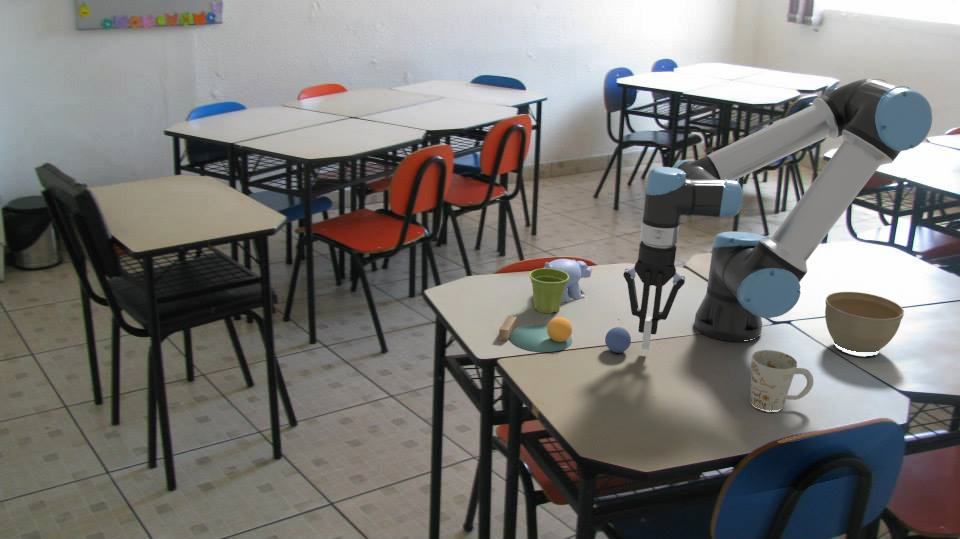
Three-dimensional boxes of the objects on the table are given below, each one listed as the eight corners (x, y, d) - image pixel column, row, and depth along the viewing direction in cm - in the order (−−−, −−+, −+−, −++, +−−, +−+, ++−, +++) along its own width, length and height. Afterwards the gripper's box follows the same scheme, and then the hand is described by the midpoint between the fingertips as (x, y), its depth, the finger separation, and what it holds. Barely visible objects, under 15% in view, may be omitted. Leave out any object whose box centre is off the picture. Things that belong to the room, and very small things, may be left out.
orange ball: (554, 309, 202) (546, 330, 204) (550, 319, 197) (541, 340, 199) (577, 319, 201) (568, 340, 203) (573, 329, 196) (564, 350, 198)
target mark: (576, 330, 207) (576, 329, 207) (565, 356, 194) (566, 355, 194) (516, 321, 210) (516, 320, 210) (502, 346, 197) (502, 345, 197)
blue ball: (608, 320, 198) (603, 341, 200) (607, 333, 193) (602, 354, 196) (633, 325, 197) (628, 346, 200) (633, 338, 192) (627, 360, 195)
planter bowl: (890, 341, 209) (900, 297, 206) (897, 370, 195) (908, 324, 191) (816, 329, 214) (824, 286, 210) (818, 357, 199) (827, 311, 196)
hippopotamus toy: (601, 293, 229) (605, 258, 226) (556, 305, 220) (559, 268, 217) (572, 280, 237) (575, 245, 234) (528, 291, 228) (530, 255, 225)
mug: (738, 395, 181) (745, 349, 177) (799, 395, 182) (807, 350, 179) (753, 416, 173) (761, 369, 170) (816, 416, 174) (826, 369, 171)
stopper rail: (516, 326, 207) (516, 316, 206) (507, 340, 200) (508, 330, 199) (507, 325, 208) (508, 315, 207) (498, 339, 200) (499, 329, 199)
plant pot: (563, 318, 213) (566, 284, 210) (524, 314, 214) (526, 279, 211) (568, 304, 221) (571, 270, 218) (530, 299, 223) (532, 266, 220)
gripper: (624, 244, 186) (613, 348, 194) (689, 252, 183) (675, 358, 191) (628, 233, 193) (617, 335, 201) (691, 241, 190) (677, 344, 198)
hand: (645, 346), depth 196 cm, fingers closed
